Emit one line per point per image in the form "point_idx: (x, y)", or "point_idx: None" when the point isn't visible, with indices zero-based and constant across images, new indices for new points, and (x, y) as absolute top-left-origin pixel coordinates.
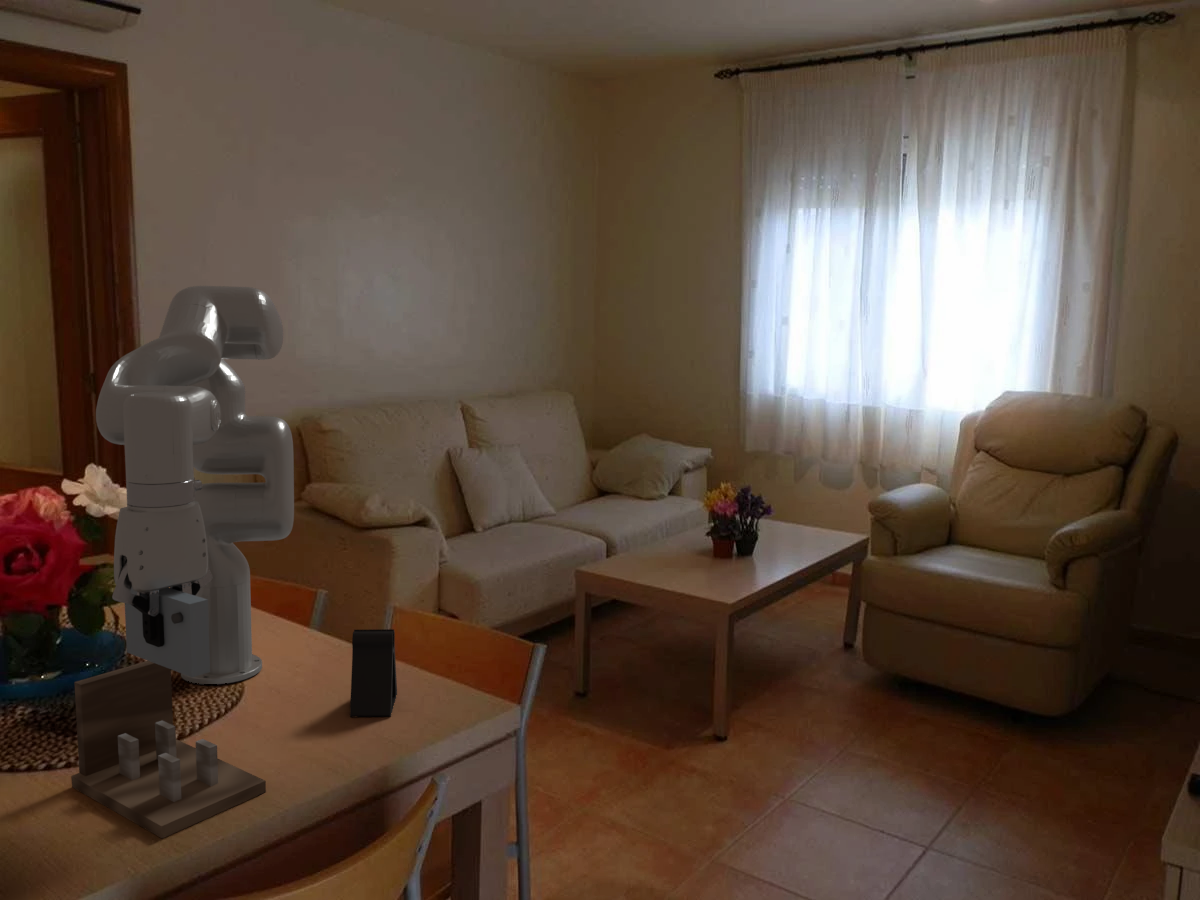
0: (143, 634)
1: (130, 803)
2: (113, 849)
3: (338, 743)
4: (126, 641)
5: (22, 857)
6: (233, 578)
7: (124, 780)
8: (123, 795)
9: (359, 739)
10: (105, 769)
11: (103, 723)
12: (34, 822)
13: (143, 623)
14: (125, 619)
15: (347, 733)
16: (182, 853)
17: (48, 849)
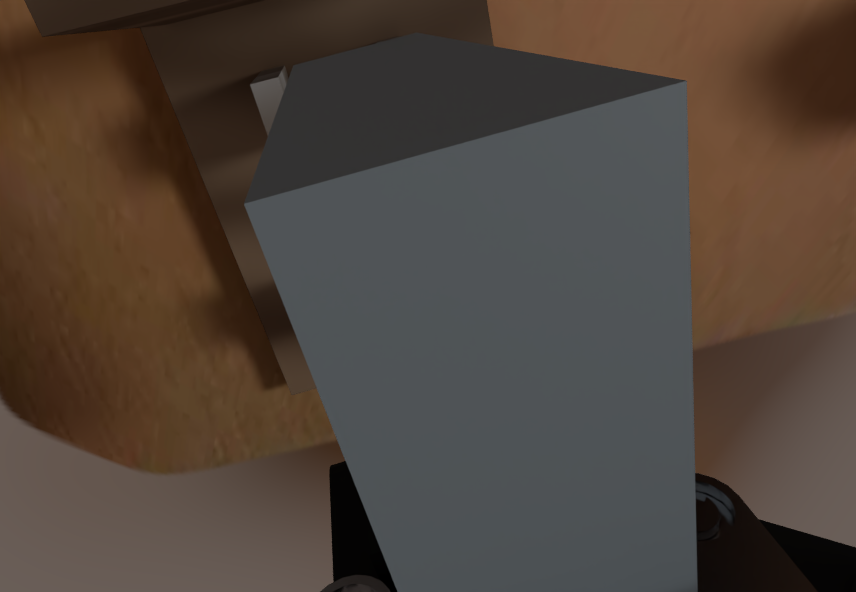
0: (331, 478)
1: (254, 266)
2: (199, 370)
3: (770, 181)
4: (292, 71)
5: (11, 307)
6: None
7: (265, 130)
8: (246, 216)
9: (812, 190)
10: (228, 13)
11: (204, 8)
12: (30, 154)
13: (336, 544)
14: (284, 92)
15: (821, 140)
16: (311, 441)
17: (68, 304)
